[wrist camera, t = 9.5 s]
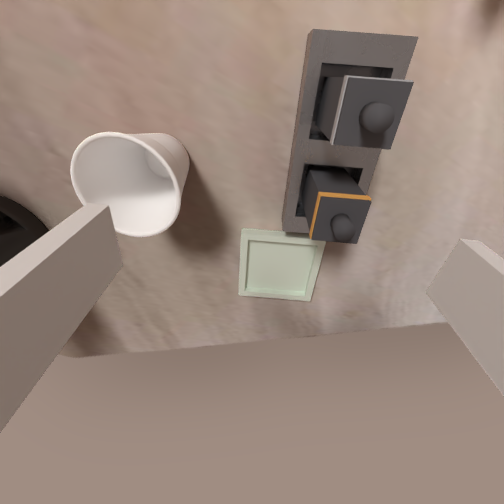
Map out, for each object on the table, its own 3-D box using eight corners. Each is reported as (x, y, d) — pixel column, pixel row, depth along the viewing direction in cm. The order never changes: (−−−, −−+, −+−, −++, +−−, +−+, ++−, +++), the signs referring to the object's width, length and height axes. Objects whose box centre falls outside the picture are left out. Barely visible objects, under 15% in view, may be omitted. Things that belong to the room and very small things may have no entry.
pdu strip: (281, 218, 36) (282, 231, 33) (308, 34, 25) (313, 28, 22) (345, 224, 36) (352, 236, 33) (401, 41, 25) (418, 37, 22)
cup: (221, 168, 33) (202, 203, 24) (168, 209, 37) (134, 253, 27) (163, 94, 29) (114, 103, 20) (110, 149, 32) (47, 178, 23)
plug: (300, 200, 34) (313, 252, 24) (307, 164, 31) (324, 206, 22) (336, 203, 34) (363, 256, 24) (345, 167, 31) (380, 210, 22)
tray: (239, 289, 44) (238, 295, 43) (242, 228, 38) (241, 233, 36) (308, 294, 44) (310, 301, 43) (324, 234, 37) (326, 240, 36)
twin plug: (314, 125, 29) (338, 152, 19) (323, 75, 26) (356, 75, 16) (356, 129, 29) (401, 157, 19) (370, 78, 26) (430, 81, 16)
